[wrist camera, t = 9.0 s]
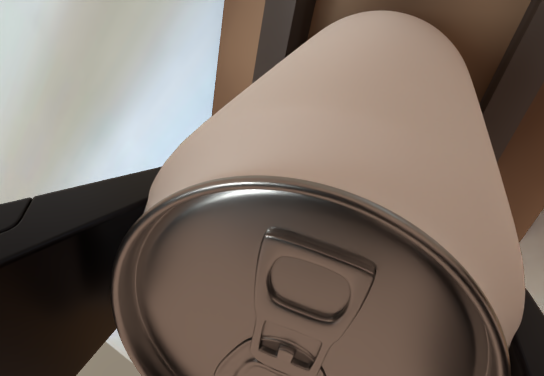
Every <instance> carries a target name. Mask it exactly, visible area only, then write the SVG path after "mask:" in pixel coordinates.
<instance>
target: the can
mask: <svg viewBox="0 0 544 376" xmlns="http://www.w3.org/2000/svg"><path fill="white" fill-rule="evenodd" d="M110 297H111V306H112V312H113V317H114V321H115V324H116V328H117V331H118V333H119V336H120V338H121V341H122V343H123V345H124V347H125V349H126V351H127V353H128V355H129V357H130V359H131V360H132V362H133V364H134V365H135V367H136V368H137V370H138V371H139V373H140V374H141V376H511V364H510V356H509V351H508V349H509V346H510V344H511V341H512V339H513V336H514V334H515V333H516V331H517V330H518V328H519V326H520V324H521V320H522V316H523V311H524V303H525V279H524V268H523V260H522V254H521V250H520V245H519V241H518V237H517V232H516V228H515V224H514V220H513V217H512V213H511V210H510V206H509V203H508V199H507V195H506V192H505V189H504V185H503V182H502V178H501V175H500V172H499V168H498V165H497V161H496V158H495V155H494V151H493V148H492V145H491V141H490V138H489V135H488V131H487V128H486V125H485V121H484V118H483V115H482V111H481V108H480V105H479V102H478V98H477V95H476V92H475V89H474V86H473V83H472V80H471V77H470V74H469V71H468V69H467V66H466V64H465V62H464V60H463V58H462V56H461V55H460V53H459V51H458V50H457V49H456V47H455V46H454V45H453V43H452V42H451V41H450V40H449V39H448V38H447V37H446V36H445V35H444V34H443V33H442V32H441V31H439V30H438V29H437V28H435V27H434V26H432V25H431V24H429V23H427V22H426V21H424V20H422V19H419V18H417V17H414V16H412V15H408V14H405V13H401V12H395V11H382V10H379V11H367V12H361V13H357V14H353V15H350V16H347V17H345V18H342V19H340V20H338V21H336V22H334V23H332V24H330V25H329V26H327V27H325V28H324V29H322V30H321V31H320V32H318V33H317V34H316V35H314V36H313V37H311V38H310V39H309V40H308V41H306V42H305V43H304V44H302V45H301V46H300V47H298V48H297V49H296V50H295V51H293V52H292V53H291V54H289V55H288V56H287V57H286V58H284V59H283V60H282V61H280V62H279V63H278V64H277V65H275V66H274V67H273V68H272V69H270V70H269V71H268V72H267V73H265V74H264V75H263V76H261V77H260V78H259V79H258V80H256V81H255V82H254V83H253V84H251V85H250V86H249V87H248V88H246V89H245V90H244V91H243V92H241V93H240V94H239V95H238V96H236V97H235V98H234V99H233V100H231V101H230V102H229V103H228V104H226V105H225V106H224V107H223V108H222V109H220V110H219V111H218V112H217V113H215V114H214V115H213V116H212V117H211V118H209V119H208V120H207V121H206V122H204V123H203V124H202V125H201V126H200V127H199V128H198V129H196V130H195V131H194V132H193V133H192V134H191V135H190V136H189V137H188V138H186V139H185V140H184V141H183V142H182V143H181V144H180V145H179V146H178V148H177V149H176V150H175V151H174V152H173V153H172V155H171V156H170V157H169V158H168V159H167V161H166V162H165V163H164V165H163V166H162V167H161V169H160V171H159V172H158V174H157V176H156V177H155V179H154V181H153V183H152V185H151V188H150V191H149V197H148V201H147V204H146V207H145V210H144V213H143V215H142V216H141V217H140V218H139V219H138V220H137V221H136V222H135V223H134V224H133V225H132V227H131V228H130V229H129V231H128V232H127V234H126V235H125V237H124V239H123V240H122V242H121V244H120V246H119V248H118V251H117V253H116V256H115V259H114V263H113V267H112V273H111V281H110Z"/></svg>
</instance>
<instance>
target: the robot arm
mask: <svg viewBox="0 0 544 376" xmlns="http://www.w3.org/2000/svg"><path fill="white" fill-rule="evenodd" d="M160 169H161V167H158V168H154V169H150V170H146V171H141V172H137V173H133V174H128V175H124V176H120V177H116V178H111V179H107V180H103V181H98V182H94V183H90V184H86V185H81V186H77V187H73V188H68V189H64V190H60V191H56V192H51V193H47V194H43V195H38V196H35V197H34V198H33V199H32V198H25V199H21V200H17V201H13V202H8V203H4V204H0V376H76V375H77V374H78V373H79V372H80V370H81V369H82V368H83V367H84V366H85V364H86V363H87V362H88V361H89V360H90V359H91V358H92V356H93V355H94V354H95V353H96V352H97V350H98V349H99V348H100V347H101V346H102V345H103V343H104V342H105V341H106V340H107V339H108V338H109V337H110V335H111V334H112V333H113V332H114V331H115V330H116V324H115V321H114V317H113V312H112V306H111V297H110V281H111V273H112V267H113V263H114V259H115V256H116V253H117V251H118V248H119V246H120V244H121V242H122V240H123V239H124V237H125V235H126V234H127V232H128V231H129V229H130V228H131V227H132V225H133V224H134V223H135V222H136V221H137V220H138V219H139V218H140V217H141V216H142V215H143V213H144V210H145V207H146V204H147V201H148V197H149V191H150V188H151V185H152V183H153V181H154V179H155V177H156V176H157V174H158V172H159V171H160ZM508 351H509V356H510V364H511V376H544V315H543V313H542V312H541V310H540V309H539V307H538V305H537V304H536V302H535V301H534V299H533V298H532V296H531V295H530V293H529V292H528V291H527V289H526V288H525V303H524V311H523V316H522V320H521V324H520V326H519V328H518V330H517V331H516V333H515V334H514V336H513V339H512V341H511V344H510V346H509V349H508Z"/></svg>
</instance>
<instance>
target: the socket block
mask: <svg viewBox="0 0 544 376" xmlns="http://www.w3.org/2000/svg"><path fill="white" fill-rule="evenodd" d="M379 10H382V11H395V12H401V13H405V14H408V15H412V16H414V17H417V18H419V19H422V20H424V21H426V22H427V23H429V24H431V25H432V26H434V27H435V28H437V29H438V30H439V31H441V32H442V33H443V34H444V35H445V36H446V37H447V38H448V39H449V40H450V41H451V42H452V43H453V45H454V46H455V47H456V49H457V50H458V51H459V53H460V55H461V56H462V58H463V60H464V62H465V64H466V66H467V69H468V71H469V74H470V77H471V80H472V83H473V86H474V89H475V92H476V95H477V98H478V102H479V105H480V108H481V111H482V115H483V118H484V121H485V125H486V128H487V131H488V135H489V138H490V141H491V145H492V148H493V151H494V155H495V158H496V161H497V165H498V168H499V172H500V175H501V178H502V182H503V185H504V189H505V192H506V195H507V199H508V203H509V206H510V210H511V213H512V217H513V220H514V224H515V228H516V232H517V237H518V241H519V242H520V241H521V239H522V238H523V237H524V235H525V234H526V232H527V231H528V229H529V228H530V227H531V225H532V224H533V222H534V221H535V219H536V218H537V217H538V215H539V214H540V212H541V211H542V210H543V208H544V0H225V1H224V10H223V19H222V28H221V37H220V46H219V55H218V64H217V73H216V82H215V91H214V100H213V109H212V116H213V115H214V114H215V113H217V112H218V111H219V110H220V109H222V108H223V107H224V106H225V105H226V104H228V103H229V102H230V101H231V100H233V99H234V98H235V97H236V96H238V95H239V94H240V93H241V92H243V91H244V90H245V89H246V88H248V87H249V86H250V85H251V84H253V83H254V82H255V81H256V80H258V79H259V78H260V77H261V76H263V75H264V74H265V73H267V72H268V71H269V70H270V69H272V68H273V67H274V66H275V65H277V64H278V63H279V62H280V61H282V60H283V59H284V58H286V57H287V56H288V55H289V54H291V53H292V52H293V51H295V50H296V49H297V48H298V47H300V46H301V45H302V44H304V43H305V42H306V41H308V40H309V39H310V38H311V37H313V36H314V35H316V34H317V33H318V32H320V31H321V30H322V29H324V28H325V27H327V26H329V25H330V24H332V23H334V22H336V21H338V20H340V19H342V18H345V17H347V16H350V15H353V14H357V13H361V12H367V11H379Z"/></svg>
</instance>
